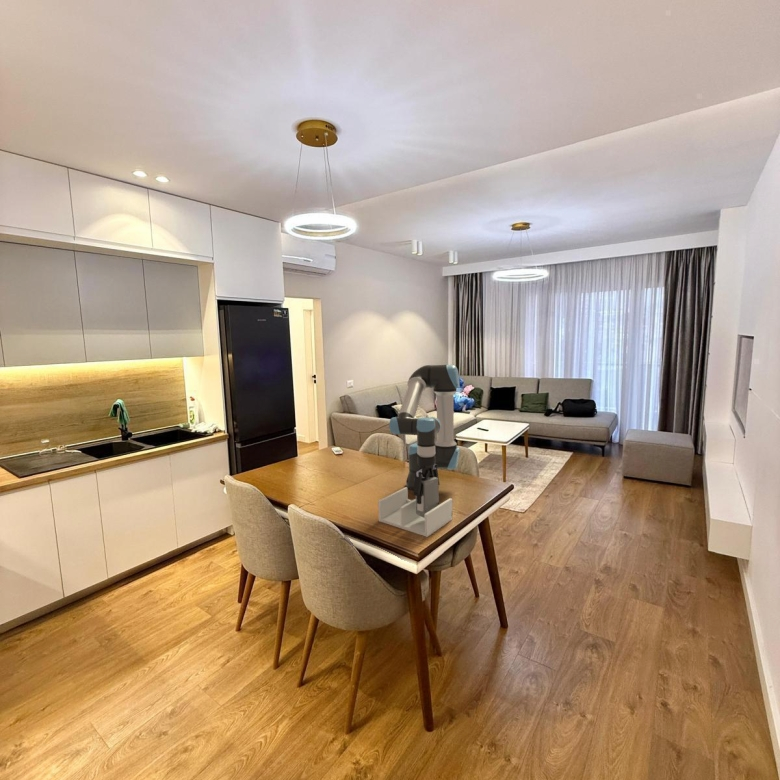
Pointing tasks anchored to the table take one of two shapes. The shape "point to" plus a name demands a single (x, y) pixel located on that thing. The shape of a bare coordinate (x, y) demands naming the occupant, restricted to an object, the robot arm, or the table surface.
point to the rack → (413, 514)
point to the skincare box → (429, 495)
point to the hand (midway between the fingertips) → (427, 506)
